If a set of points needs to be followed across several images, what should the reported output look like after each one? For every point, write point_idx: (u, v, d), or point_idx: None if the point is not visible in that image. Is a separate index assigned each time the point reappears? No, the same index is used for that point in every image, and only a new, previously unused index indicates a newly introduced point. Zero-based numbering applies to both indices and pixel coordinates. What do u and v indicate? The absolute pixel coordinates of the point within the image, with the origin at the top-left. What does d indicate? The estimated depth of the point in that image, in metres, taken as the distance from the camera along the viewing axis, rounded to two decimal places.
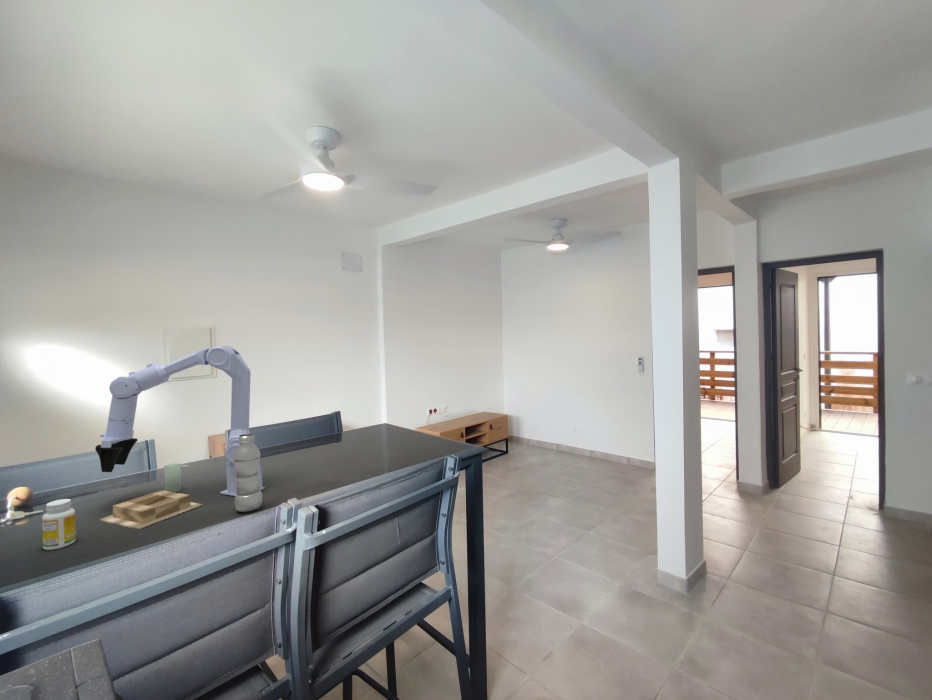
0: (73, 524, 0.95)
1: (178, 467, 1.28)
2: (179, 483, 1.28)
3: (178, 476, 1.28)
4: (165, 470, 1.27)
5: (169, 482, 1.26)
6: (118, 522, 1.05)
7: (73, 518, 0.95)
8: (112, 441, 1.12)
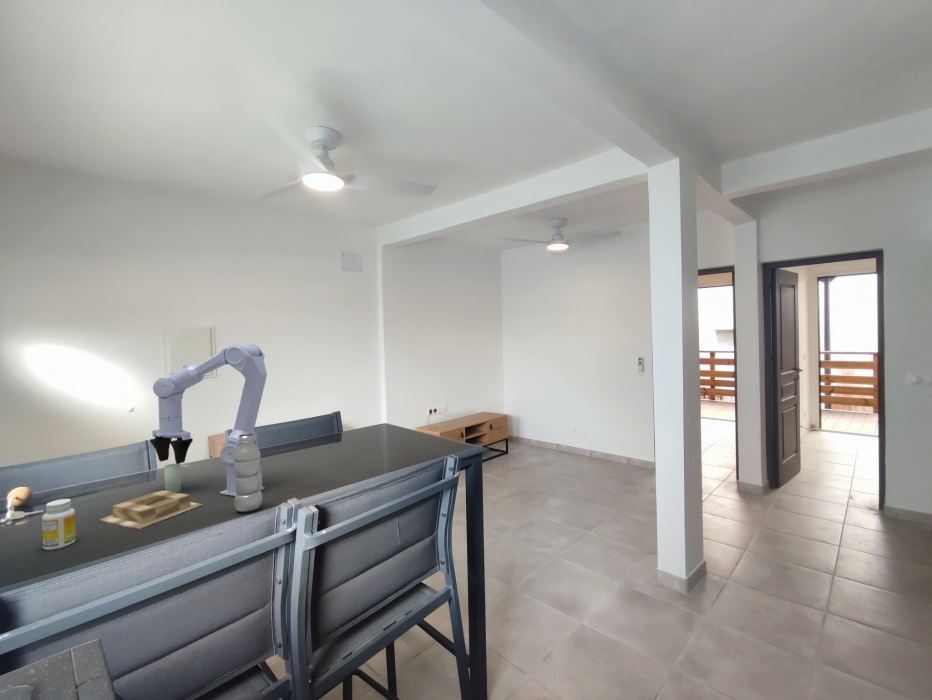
0: (73, 524, 0.95)
1: (178, 467, 1.28)
2: (179, 483, 1.28)
3: (178, 476, 1.28)
4: (165, 470, 1.27)
5: (169, 482, 1.26)
6: (118, 522, 1.05)
7: (73, 518, 0.95)
8: None
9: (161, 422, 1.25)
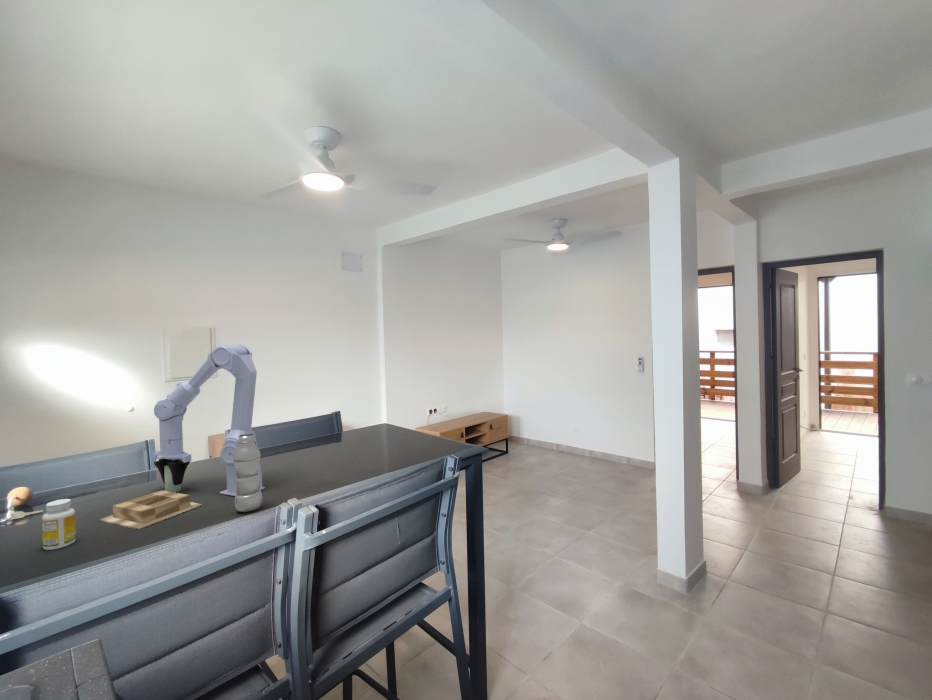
0: (73, 524, 0.95)
1: None
2: None
3: None
4: (165, 470, 1.27)
5: (169, 482, 1.26)
6: (118, 522, 1.05)
7: (73, 518, 0.95)
8: None
9: (162, 444, 1.26)
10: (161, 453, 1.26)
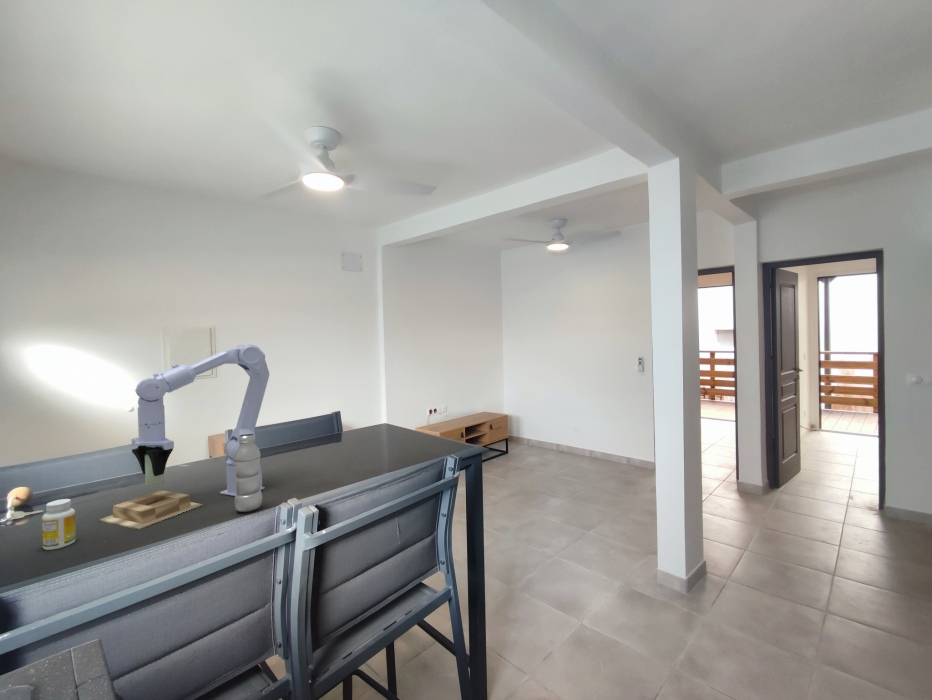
0: (73, 524, 0.95)
1: None
2: (162, 474, 1.14)
3: None
4: (146, 459, 1.11)
5: (151, 472, 1.11)
6: (118, 522, 1.05)
7: (73, 518, 0.95)
8: None
9: (140, 429, 1.10)
10: (139, 439, 1.10)
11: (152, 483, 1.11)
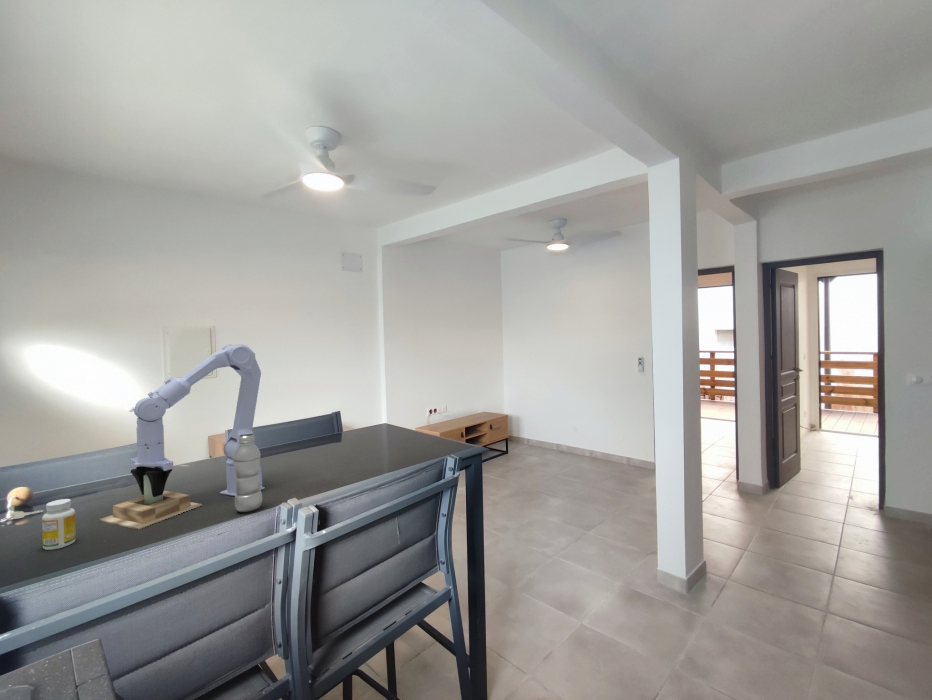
0: (73, 524, 0.95)
1: None
2: None
3: None
4: (145, 480, 1.10)
5: (150, 493, 1.10)
6: (118, 522, 1.05)
7: (73, 518, 0.95)
8: None
9: (139, 450, 1.09)
10: (138, 460, 1.09)
11: None
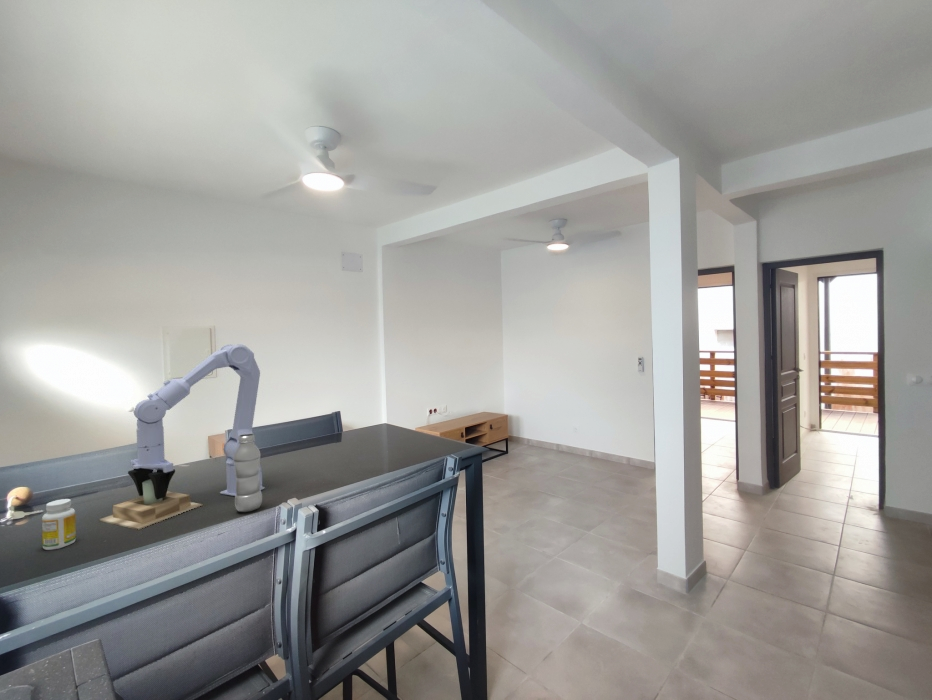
0: (73, 524, 0.95)
1: None
2: (161, 500, 1.12)
3: None
4: (144, 487, 1.10)
5: (150, 500, 1.10)
6: (118, 522, 1.05)
7: (73, 518, 0.95)
8: None
9: (139, 452, 1.09)
10: (138, 461, 1.09)
11: None
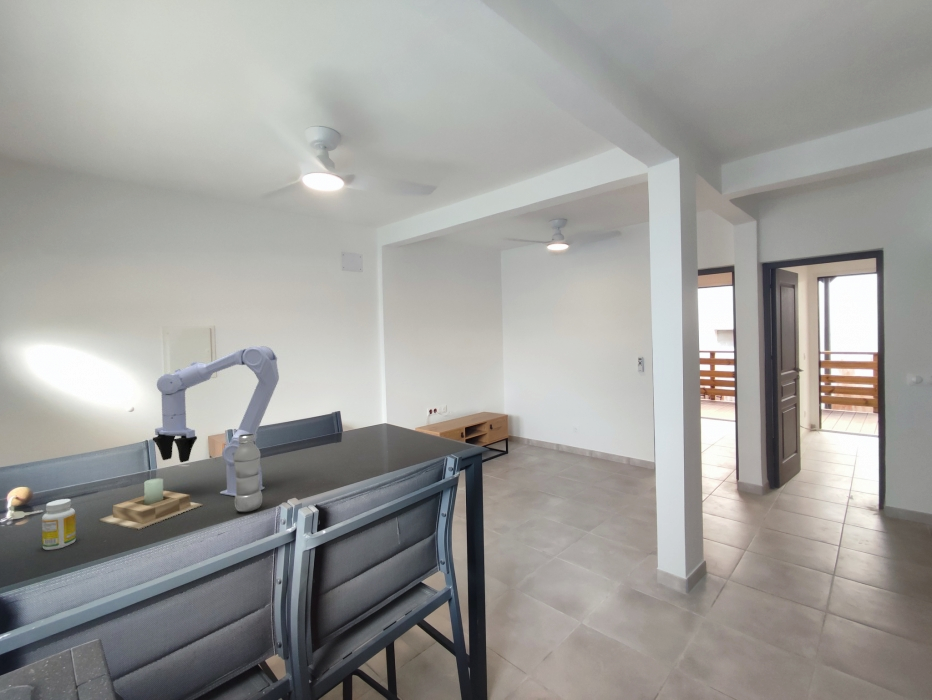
0: (73, 524, 0.95)
1: (161, 483, 1.12)
2: None
3: (161, 493, 1.12)
4: (146, 486, 1.10)
5: (151, 500, 1.10)
6: (118, 522, 1.05)
7: (73, 518, 0.95)
8: None
9: (164, 419, 1.22)
10: (164, 428, 1.22)
11: None
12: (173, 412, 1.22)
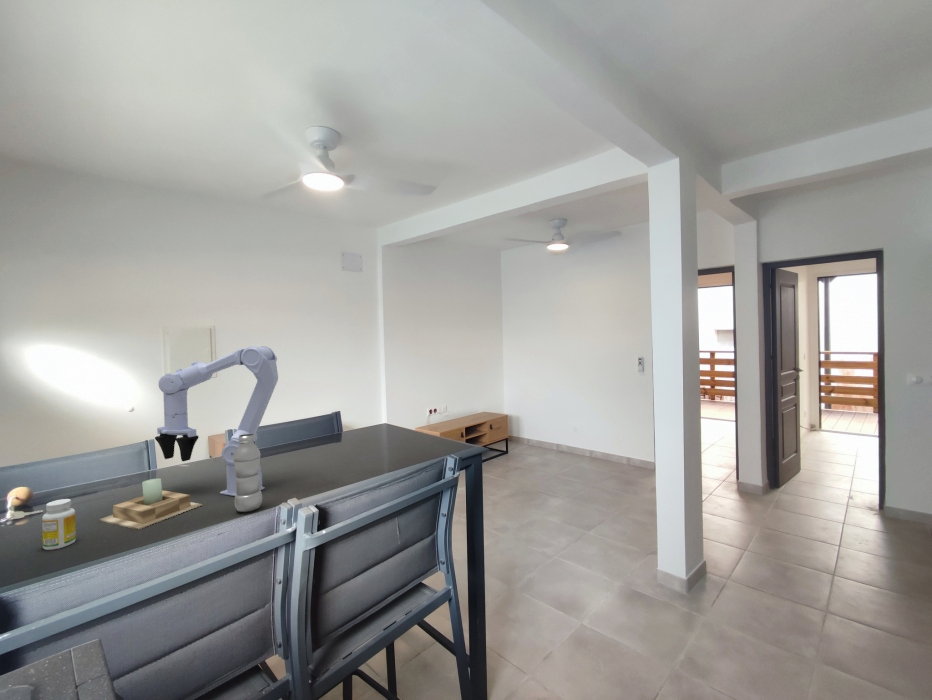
0: (73, 524, 0.95)
1: (159, 482, 1.12)
2: (161, 500, 1.12)
3: (160, 493, 1.12)
4: (144, 487, 1.10)
5: (149, 500, 1.10)
6: (118, 522, 1.05)
7: (73, 518, 0.95)
8: None
9: (166, 419, 1.23)
10: (165, 428, 1.23)
11: None
12: (174, 411, 1.23)
